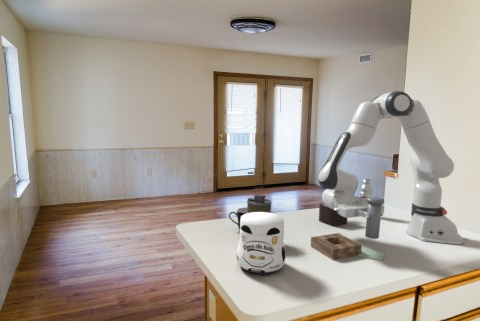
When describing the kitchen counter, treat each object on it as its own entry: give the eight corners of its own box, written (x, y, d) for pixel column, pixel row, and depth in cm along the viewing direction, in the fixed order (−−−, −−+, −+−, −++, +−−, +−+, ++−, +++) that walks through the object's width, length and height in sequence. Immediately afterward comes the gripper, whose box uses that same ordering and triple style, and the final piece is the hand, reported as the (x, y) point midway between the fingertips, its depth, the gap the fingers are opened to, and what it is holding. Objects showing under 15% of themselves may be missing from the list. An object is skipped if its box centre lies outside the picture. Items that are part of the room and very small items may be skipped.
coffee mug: (258, 230, 160) (258, 209, 158) (248, 235, 153) (249, 213, 151) (237, 225, 166) (237, 205, 165) (227, 230, 159) (227, 209, 157)
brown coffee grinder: (348, 223, 172) (351, 188, 170) (333, 226, 167) (335, 191, 164) (326, 215, 186) (328, 183, 183) (311, 218, 180) (313, 184, 177)
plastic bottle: (372, 217, 183) (374, 181, 180) (358, 216, 184) (361, 180, 181) (370, 214, 189) (372, 179, 186) (357, 213, 190) (359, 178, 187)
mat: (384, 252, 137) (384, 251, 137) (382, 260, 129) (382, 259, 129) (360, 248, 141) (360, 247, 141) (357, 256, 133) (358, 255, 133)
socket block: (337, 241, 147) (338, 233, 147) (361, 254, 134) (361, 244, 134) (310, 246, 141) (311, 237, 141) (332, 259, 129) (333, 249, 128)
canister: (275, 240, 148) (276, 195, 145) (259, 246, 140) (261, 199, 137) (256, 233, 155) (257, 191, 152) (240, 239, 147) (241, 194, 144)
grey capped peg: (381, 235, 135) (384, 198, 133) (380, 240, 130) (383, 201, 127) (364, 232, 138) (367, 196, 136) (362, 237, 132) (365, 199, 130)
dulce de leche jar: (249, 281, 111) (250, 228, 108) (229, 260, 127) (230, 213, 124) (294, 272, 118) (296, 222, 115) (270, 253, 133) (271, 209, 131)
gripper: (331, 200, 140) (355, 209, 127) (369, 196, 148) (395, 205, 135) (330, 215, 140) (354, 225, 128) (368, 210, 149) (393, 220, 136)
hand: (375, 215), depth 132 cm, fingers closed on grey capped peg, 5 cm apart
